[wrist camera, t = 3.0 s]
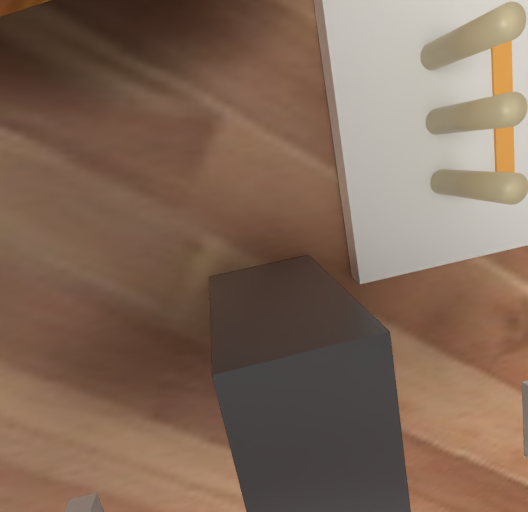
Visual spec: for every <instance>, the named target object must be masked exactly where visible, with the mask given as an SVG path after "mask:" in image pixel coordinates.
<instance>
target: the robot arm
mask: <svg viewBox="0 0 528 512" xmlns="http://www.w3.org/2000/svg"><path fill="white" fill-rule="evenodd" d="M522 403H523V436H524V455H525V456H526V457H527V458H528V380H527V381H523V382H522ZM64 512H104V511H103V508H102V505H101V503H100V500H99V497H98V494H97V492H96V493H92V494H88V495H85V496H81V497H77V498H73V499H69V502H68V504H67V507H66V509H65V511H64Z"/></svg>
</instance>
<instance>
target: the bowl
mask: <svg viewBox="0 0 528 512" xmlns="http://www.w3.org/2000/svg"><path fill="white" fill-rule="evenodd" d="M48 1H51V0H0V17H1V16H4V15H7V14H10V13H13V12H17V11H20V10H23V9H26V8H29V7H32V6H35V5H38V4H41V3H44V2H48Z"/></svg>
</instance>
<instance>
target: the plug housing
mask: <svg viewBox="0 0 528 512" xmlns="http://www.w3.org/2000/svg"><path fill="white" fill-rule="evenodd" d="M209 290H210V324H211V359H212V377H213V381H214V385H215V389H216V393H217V397H218V401H219V405H220V409H221V413H222V417H223V421H224V425H225V429H226V433H227V436H228V440H229V444H230V448H231V452H232V456H233V460H234V464H235V468H236V472H237V476H238V480H239V484H240V488H241V492H242V495H243V499H244V503H245V507H246V511H247V512H411V510H410V501H409V493H408V484H407V475H406V467H405V458H404V450H403V441H402V432H401V424H400V415H399V407H398V398H397V389H396V381H395V372H394V364H393V355H392V346H391V338H390V331H389V330H388V329H387V328H386V327H385V326H383V325H382V324H381V323H380V322H379V321H378V320H377V319H376V318H375V317H374V316H373V315H372V314H371V313H370V312H369V311H367V310H366V309H365V308H364V307H363V306H362V305H361V304H360V303H359V302H358V301H357V300H356V299H355V298H354V297H353V296H352V295H350V294H349V293H348V292H347V291H346V290H345V289H344V288H343V287H342V286H341V285H340V284H339V283H338V282H337V281H336V280H335V279H333V278H332V277H331V276H330V275H329V274H328V273H327V272H326V271H325V270H324V269H323V268H322V267H321V266H320V265H319V264H318V263H316V262H315V261H314V260H313V259H312V258H311V257H310V256H309V255H305V256H301V257H296V258H292V259H287V260H283V261H278V262H274V263H269V264H265V265H260V266H256V267H252V268H247V269H243V270H238V271H234V272H229V273H225V274H220V275H216V276H211V277H209Z"/></svg>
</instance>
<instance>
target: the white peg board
mask: <svg viewBox="0 0 528 512" xmlns="http://www.w3.org/2000/svg"><path fill="white" fill-rule="evenodd" d="M314 8H315V15H316V22H317V29H318V36H319V44H320V51H321V58H322V65H323V73H324V80H325V87H326V94H327V101H328V109H329V116H330V123H331V130H332V138H333V145H334V152H335V159H336V166H337V174H338V181H339V188H340V195H341V203H342V210H343V217H344V224H345V231H346V239H347V246H348V253H349V260H350V267H351V275H352V278H353V279H354V280H355V281H357V282H358V283H359V284H364V283H369V282H373V281H377V280H381V279H386V278H390V277H394V276H399V275H403V274H407V273H411V272H416V271H420V270H424V269H428V268H433V267H437V266H441V265H445V264H450V263H454V262H458V261H463V260H467V259H471V258H475V257H480V256H484V255H488V254H492V253H497V252H501V251H505V250H509V249H514V248H518V247H522V246H527V245H528V0H314Z"/></svg>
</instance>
